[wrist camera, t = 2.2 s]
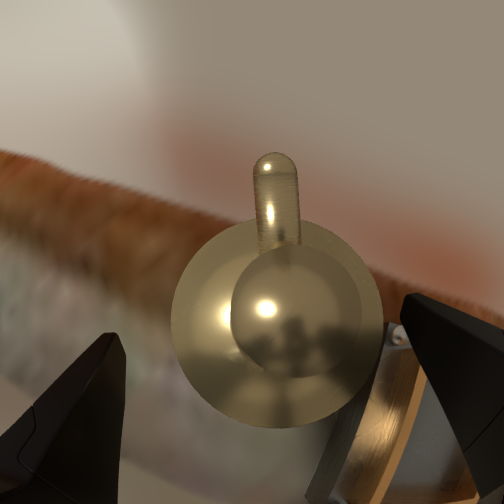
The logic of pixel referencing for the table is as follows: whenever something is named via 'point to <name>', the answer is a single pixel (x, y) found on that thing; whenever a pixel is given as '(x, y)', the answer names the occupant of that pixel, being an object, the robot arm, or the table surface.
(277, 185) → the spout can
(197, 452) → the table surface
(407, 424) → the grey square tray
